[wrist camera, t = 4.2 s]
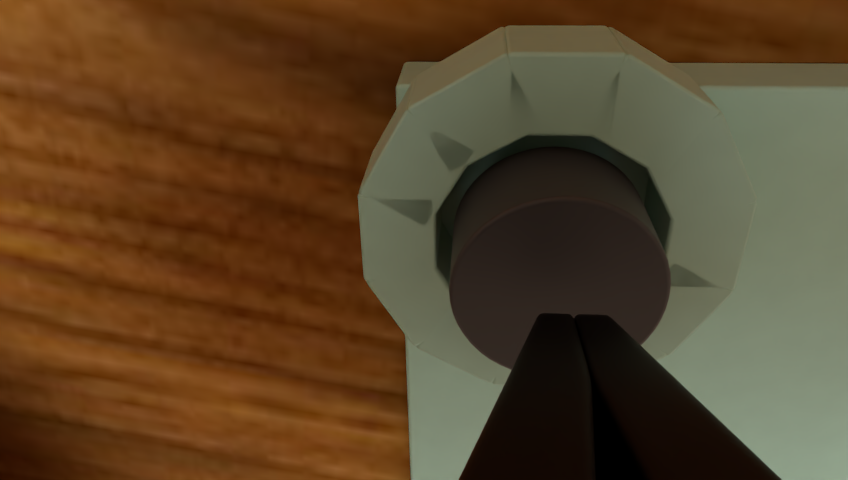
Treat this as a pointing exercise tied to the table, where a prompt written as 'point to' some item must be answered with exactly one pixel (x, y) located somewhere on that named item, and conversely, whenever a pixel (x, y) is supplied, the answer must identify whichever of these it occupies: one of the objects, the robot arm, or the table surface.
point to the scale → (669, 213)
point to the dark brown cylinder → (553, 250)
